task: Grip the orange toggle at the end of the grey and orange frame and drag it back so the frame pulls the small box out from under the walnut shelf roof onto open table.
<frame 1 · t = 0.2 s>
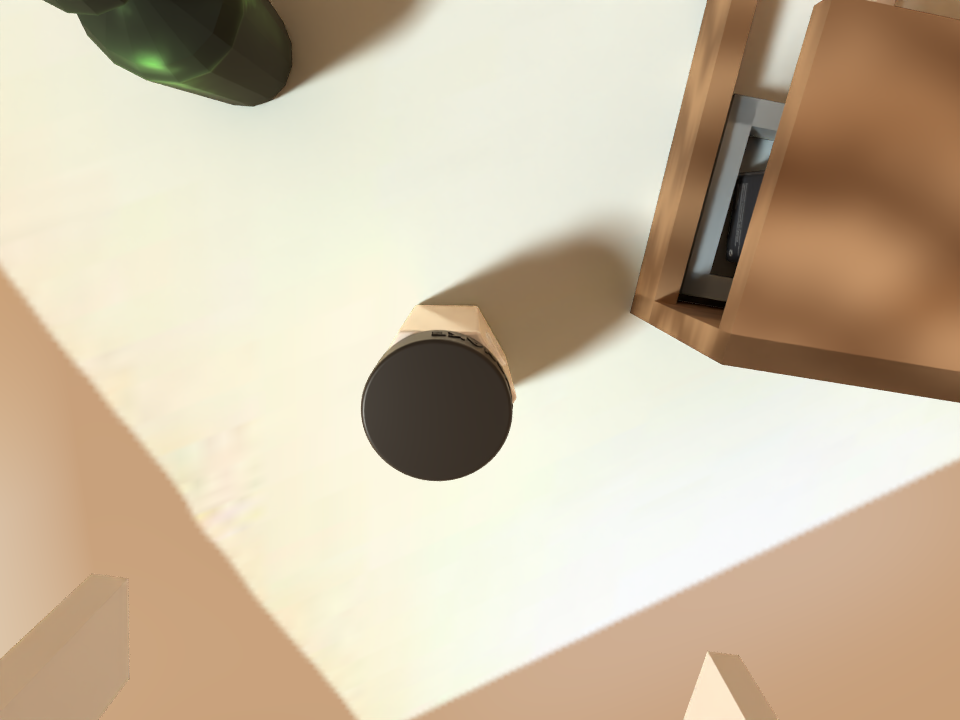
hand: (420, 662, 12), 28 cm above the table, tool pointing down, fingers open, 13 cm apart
grey and orange frame: (800, 220, 36), on the table
jar: (446, 355, 39), on the table
shelf lane: (819, 161, 35), on the table
small box: (798, 220, 36), resting in grey and orange frame
potion bottle: (244, 53, 33), on the table
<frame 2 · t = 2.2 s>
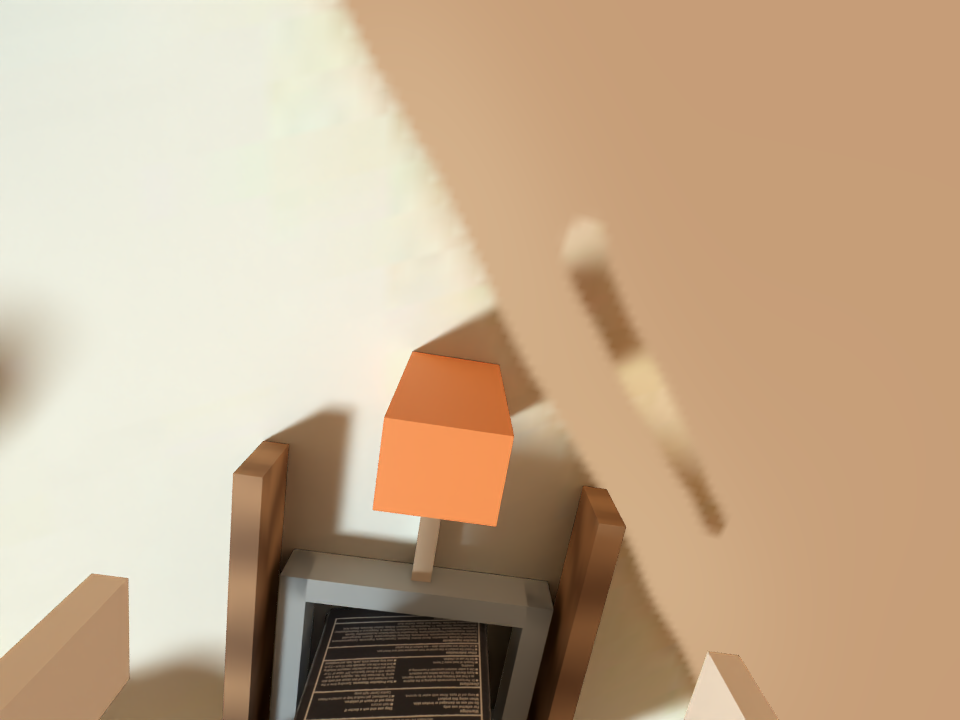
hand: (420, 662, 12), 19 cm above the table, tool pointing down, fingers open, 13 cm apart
grey and orange frame: (410, 644, 34), on the table
shelf lane: (418, 595, 33), on the table
small box: (410, 641, 34), resting in grey and orange frame
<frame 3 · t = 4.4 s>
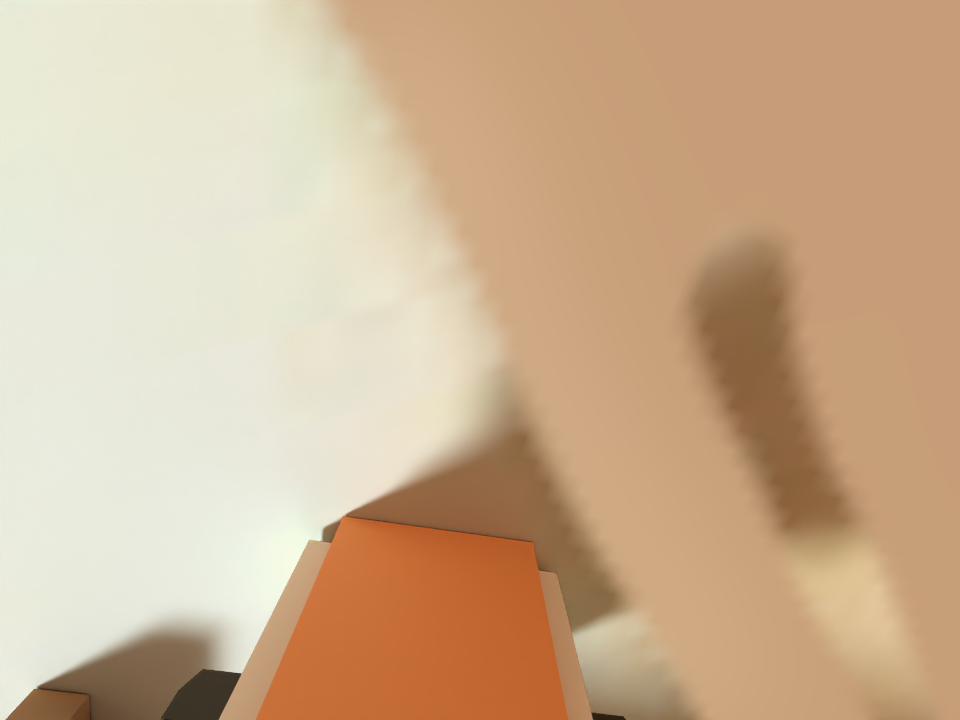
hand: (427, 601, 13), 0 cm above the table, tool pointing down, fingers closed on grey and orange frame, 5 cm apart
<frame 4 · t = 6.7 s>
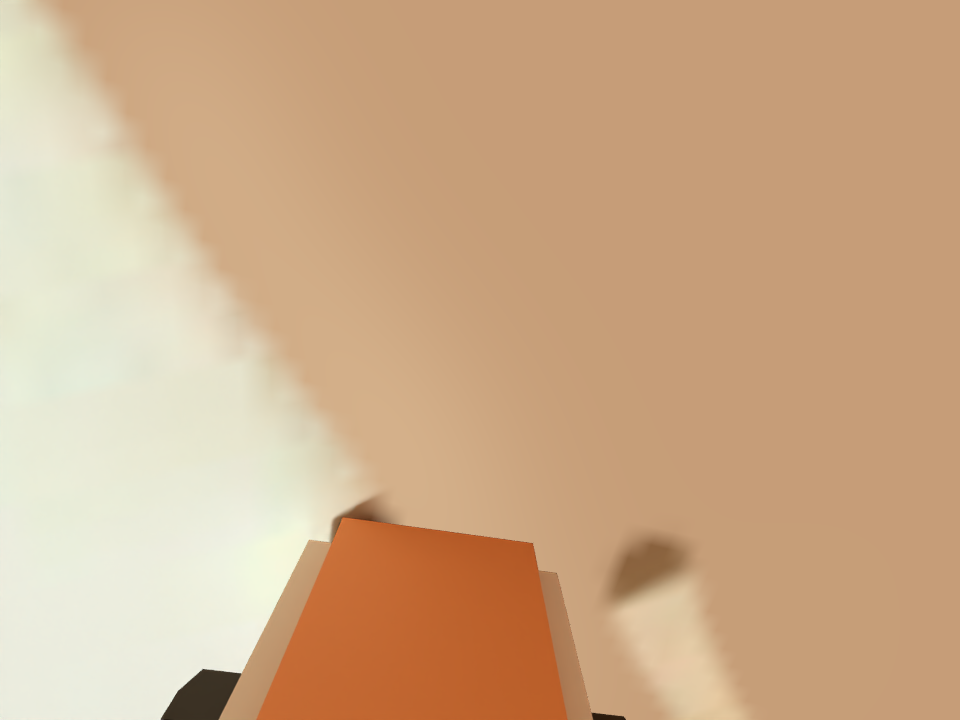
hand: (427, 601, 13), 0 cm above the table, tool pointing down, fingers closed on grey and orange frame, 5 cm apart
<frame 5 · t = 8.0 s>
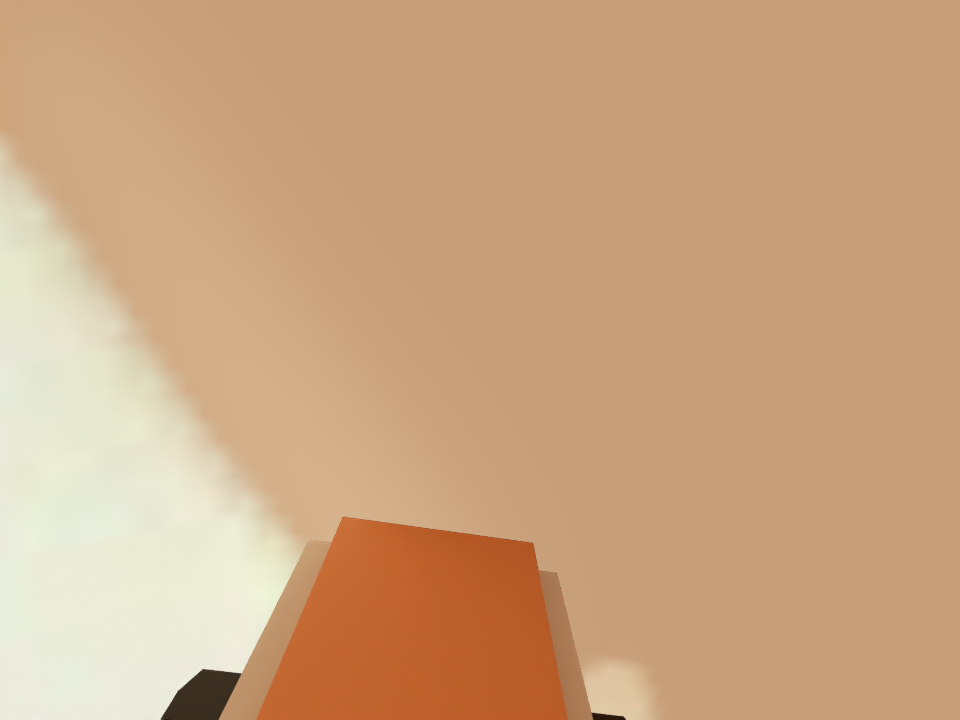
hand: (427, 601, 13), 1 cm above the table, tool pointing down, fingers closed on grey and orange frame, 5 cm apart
when the fingers open (1 cm above the table, at t = 9.0 s): grey and orange frame stays where it is, on the table.
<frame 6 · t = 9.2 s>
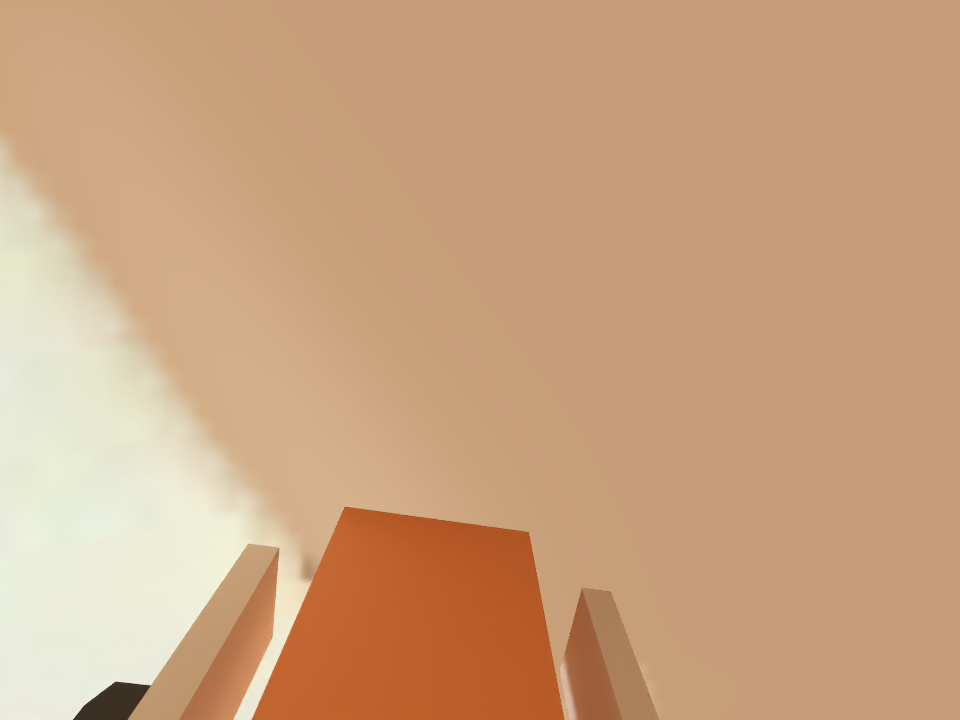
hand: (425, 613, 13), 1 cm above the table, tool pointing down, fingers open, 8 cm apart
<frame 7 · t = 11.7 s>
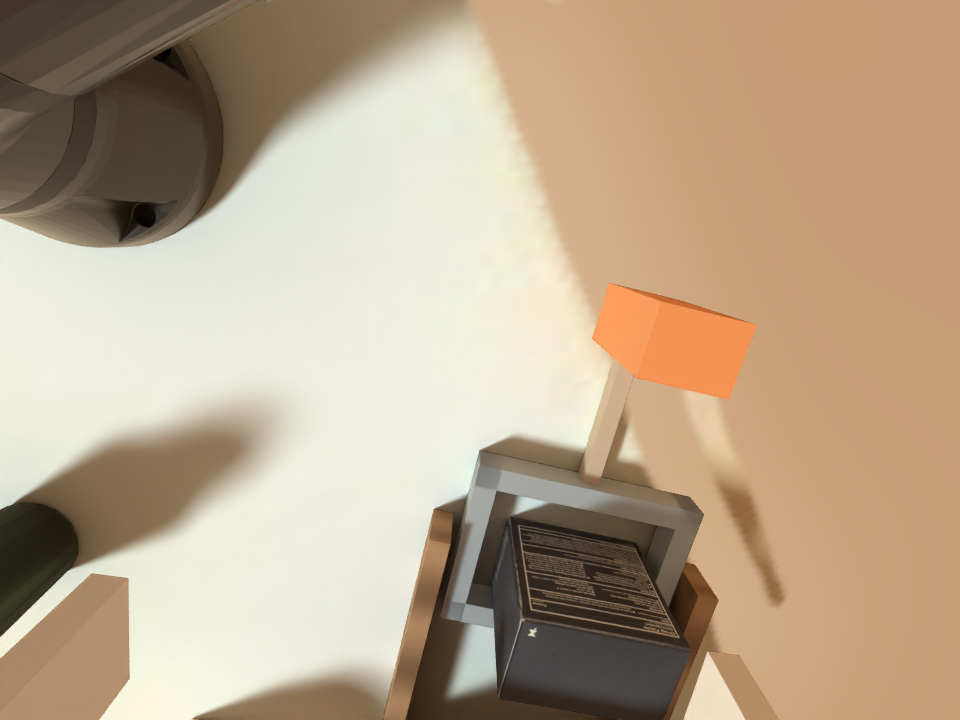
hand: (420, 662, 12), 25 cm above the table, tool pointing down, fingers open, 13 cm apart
grey and orange frame: (562, 546, 39), on the table
shelf lane: (534, 637, 41), on the table
small box: (562, 562, 40), resting in grey and orange frame
potion bottle: (40, 537, 39), on the table
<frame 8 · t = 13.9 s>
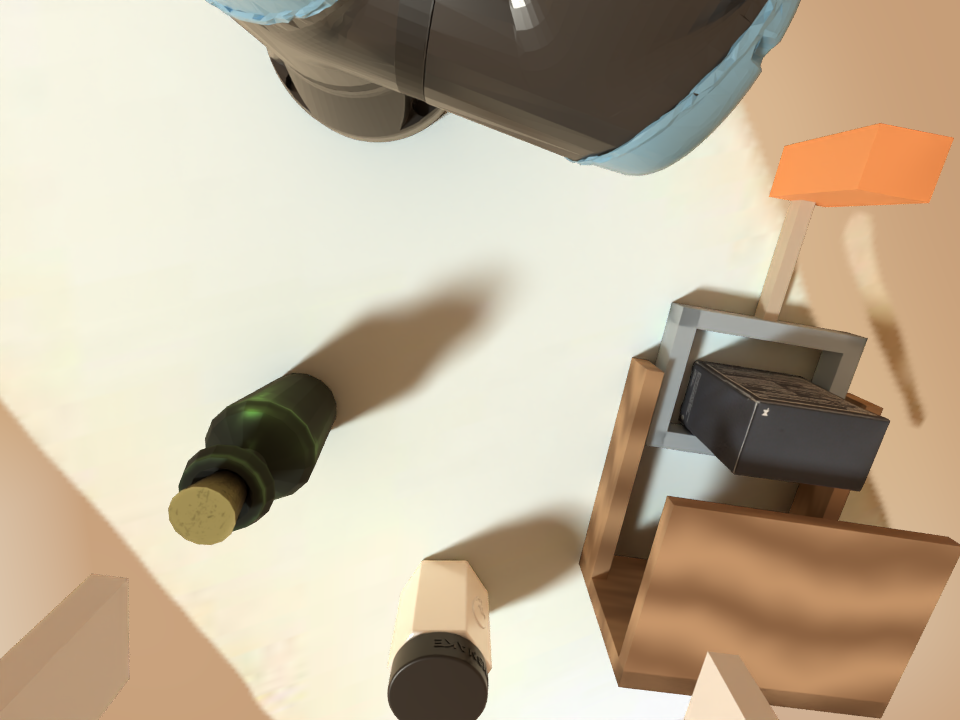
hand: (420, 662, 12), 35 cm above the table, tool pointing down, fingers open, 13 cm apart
grey and orange frame: (739, 384, 47), on the table
jar: (444, 590, 52), on the table
shelf lane: (712, 468, 49), on the table
small box: (737, 399, 47), resting in grey and orange frame
potion bottle: (302, 405, 47), on the table
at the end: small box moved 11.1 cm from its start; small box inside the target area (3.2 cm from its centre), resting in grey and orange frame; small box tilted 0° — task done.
